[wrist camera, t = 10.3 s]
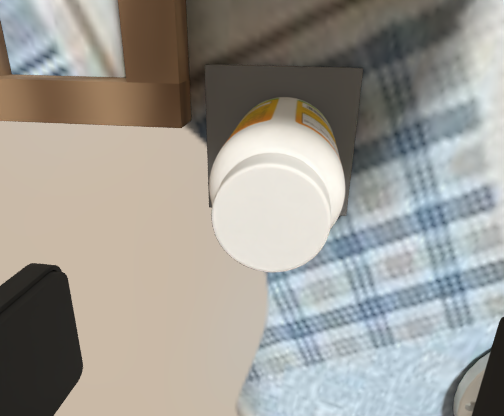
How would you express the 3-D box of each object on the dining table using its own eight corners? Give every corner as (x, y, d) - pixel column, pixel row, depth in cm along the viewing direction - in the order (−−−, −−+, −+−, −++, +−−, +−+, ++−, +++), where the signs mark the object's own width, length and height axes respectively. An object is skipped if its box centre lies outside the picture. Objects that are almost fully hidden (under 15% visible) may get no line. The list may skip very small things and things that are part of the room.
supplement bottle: (232, 186, 24) (188, 280, 15) (238, 90, 21) (190, 132, 12) (326, 197, 23) (338, 301, 14) (342, 101, 21) (368, 152, 12)
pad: (361, 67, 21) (363, 68, 20) (345, 211, 24) (346, 215, 23) (207, 64, 22) (204, 65, 21) (211, 203, 25) (209, 207, 24)
